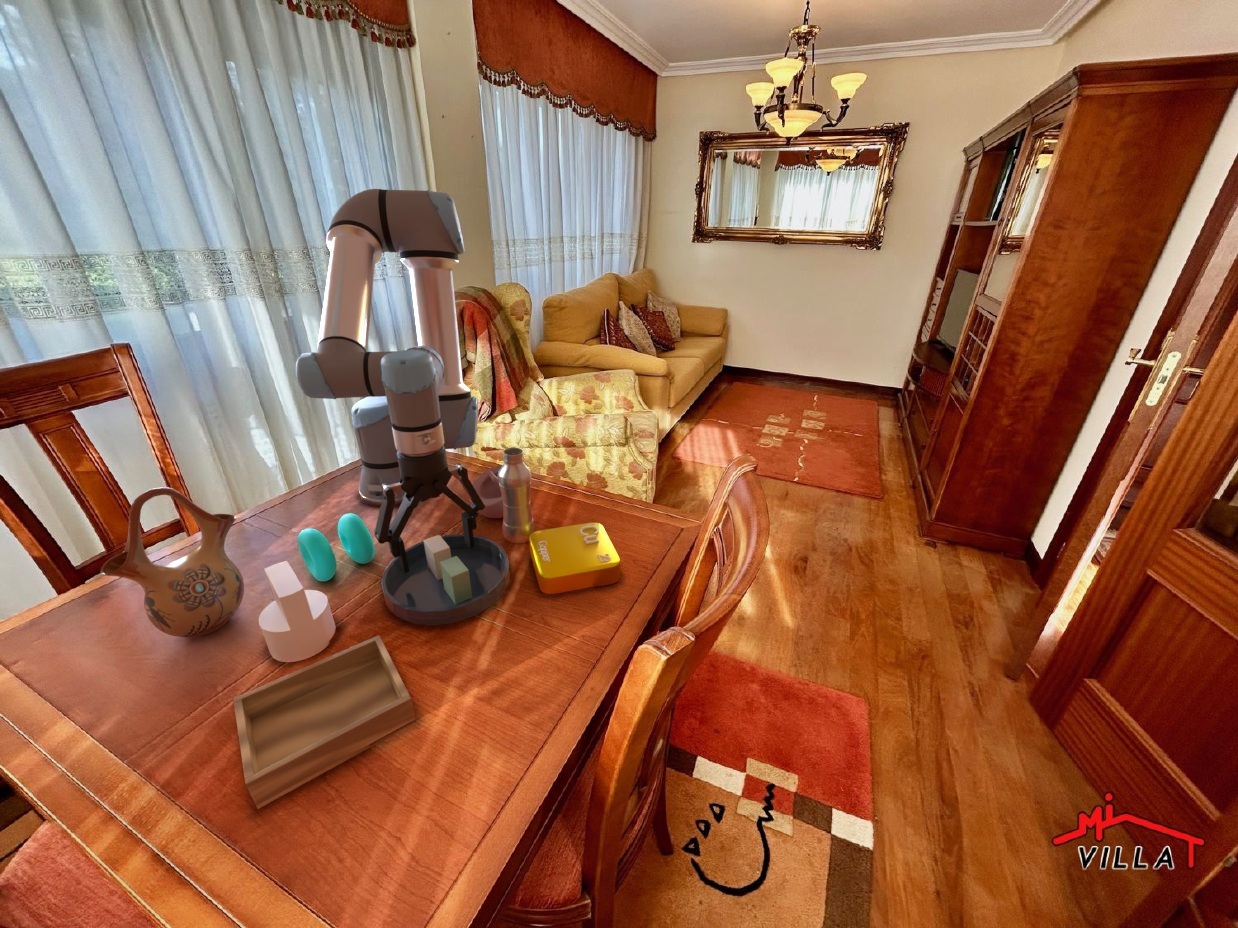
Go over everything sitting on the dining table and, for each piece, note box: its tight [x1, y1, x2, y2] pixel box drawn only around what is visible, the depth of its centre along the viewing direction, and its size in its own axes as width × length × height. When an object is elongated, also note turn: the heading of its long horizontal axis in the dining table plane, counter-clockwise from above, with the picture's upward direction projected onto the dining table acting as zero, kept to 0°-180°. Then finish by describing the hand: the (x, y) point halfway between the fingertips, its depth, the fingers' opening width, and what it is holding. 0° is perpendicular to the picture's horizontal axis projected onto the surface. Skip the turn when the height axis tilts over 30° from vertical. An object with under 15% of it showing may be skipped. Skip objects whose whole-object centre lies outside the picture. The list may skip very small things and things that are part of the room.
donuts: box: [297, 512, 376, 582], centre depth 91 cm, size 10×10×10 cm
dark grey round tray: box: [380, 533, 511, 626], centre depth 90 cm, size 21×22×4 cm
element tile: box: [528, 522, 621, 595], centre depth 95 cm, size 15×15×5 cm
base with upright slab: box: [257, 560, 337, 663], centre depth 75 cm, size 9×9×12 cm
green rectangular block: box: [440, 556, 472, 604], centre depth 86 cm, size 5×3×6 cm, turn 39°
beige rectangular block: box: [422, 534, 451, 580], centre depth 92 cm, size 5×3×6 cm, turn 39°
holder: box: [232, 634, 417, 810], centre depth 65 cm, size 14×18×5 cm
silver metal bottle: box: [497, 447, 536, 545], centre depth 99 cm, size 6×7×20 cm
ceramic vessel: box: [100, 487, 245, 638], centre depth 74 cm, size 16×9×25 cm, turn 153°
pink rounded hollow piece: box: [468, 464, 503, 519], centre depth 109 cm, size 12×12×12 cm
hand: (438, 556), depth 91 cm, fingers open, 11 cm apart
